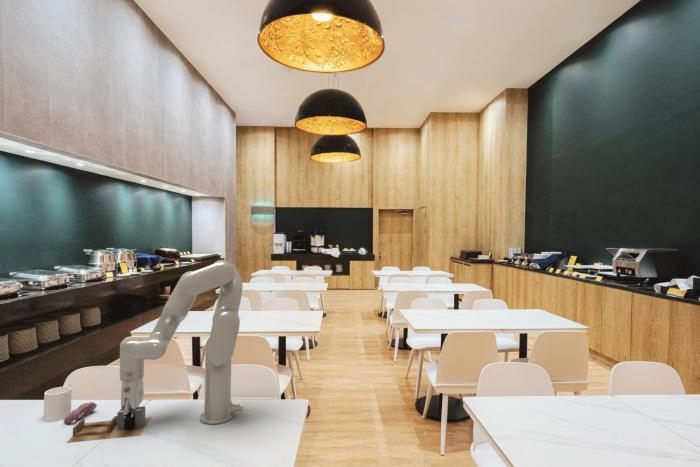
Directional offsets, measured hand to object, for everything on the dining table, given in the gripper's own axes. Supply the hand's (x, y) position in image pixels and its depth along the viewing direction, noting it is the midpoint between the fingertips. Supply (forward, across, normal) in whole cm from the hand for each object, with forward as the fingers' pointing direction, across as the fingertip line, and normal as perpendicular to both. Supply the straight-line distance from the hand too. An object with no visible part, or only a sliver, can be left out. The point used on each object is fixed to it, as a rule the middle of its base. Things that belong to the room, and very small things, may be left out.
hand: (131, 425), depth 135 cm
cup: (+2, +19, +30) cm, 36 cm away
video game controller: (+2, +13, +21) cm, 25 cm away
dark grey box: (+1, 0, 0) cm, 1 cm away
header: (+2, 0, +6) cm, 7 cm away
